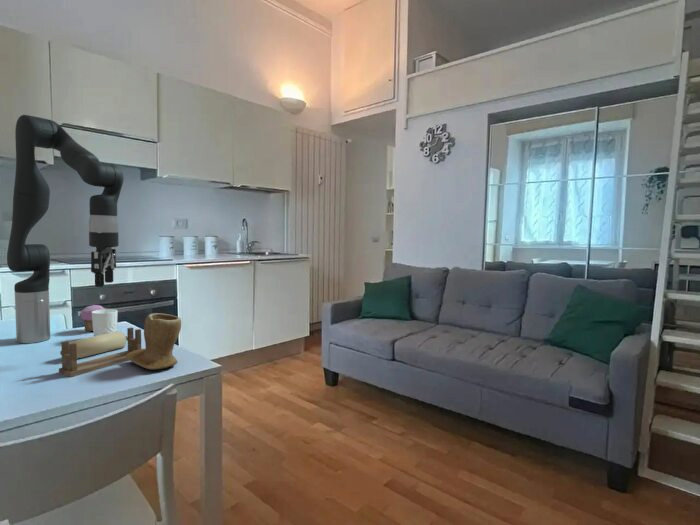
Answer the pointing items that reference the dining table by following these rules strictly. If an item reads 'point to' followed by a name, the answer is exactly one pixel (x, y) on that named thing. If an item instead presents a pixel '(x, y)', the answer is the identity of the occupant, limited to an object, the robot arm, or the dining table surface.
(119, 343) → the cylinder
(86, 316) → the cupcake
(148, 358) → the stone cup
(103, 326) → the white cup
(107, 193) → the robot arm
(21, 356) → the dining table surface
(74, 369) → the roll stand
